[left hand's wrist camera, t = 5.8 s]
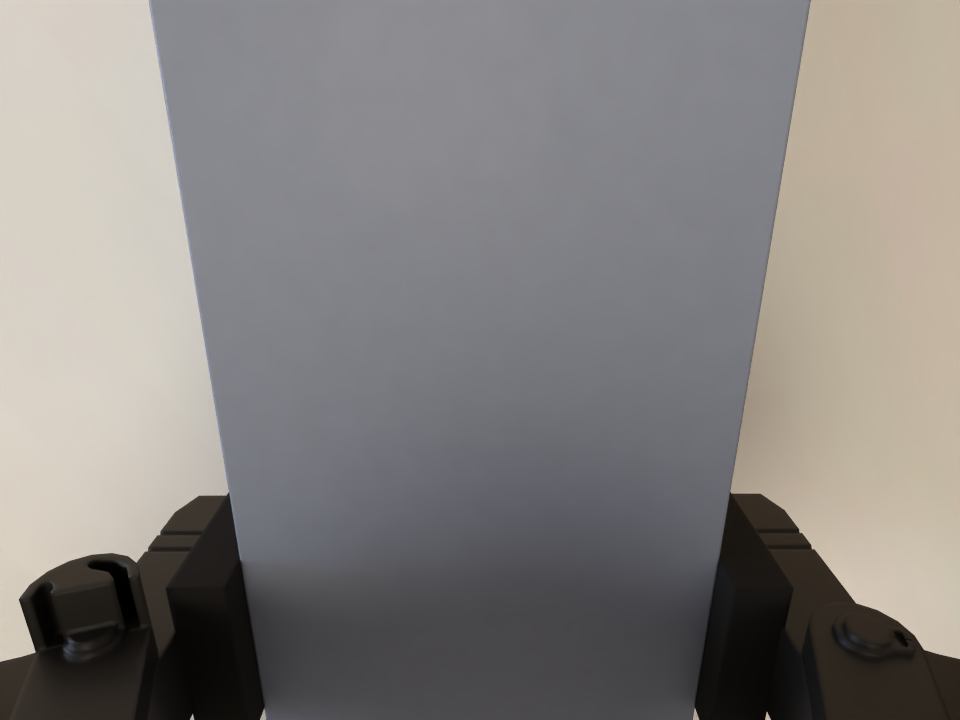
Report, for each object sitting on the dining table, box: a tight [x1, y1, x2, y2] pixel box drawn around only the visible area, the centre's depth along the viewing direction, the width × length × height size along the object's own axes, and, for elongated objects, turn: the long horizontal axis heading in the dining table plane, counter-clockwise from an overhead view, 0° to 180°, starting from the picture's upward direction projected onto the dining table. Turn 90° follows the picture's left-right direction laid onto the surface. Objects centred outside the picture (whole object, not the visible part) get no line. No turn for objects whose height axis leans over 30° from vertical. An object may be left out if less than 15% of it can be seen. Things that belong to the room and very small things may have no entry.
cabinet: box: [149, 0, 811, 720], centre depth 12 cm, size 18×6×10 cm, turn 0°
